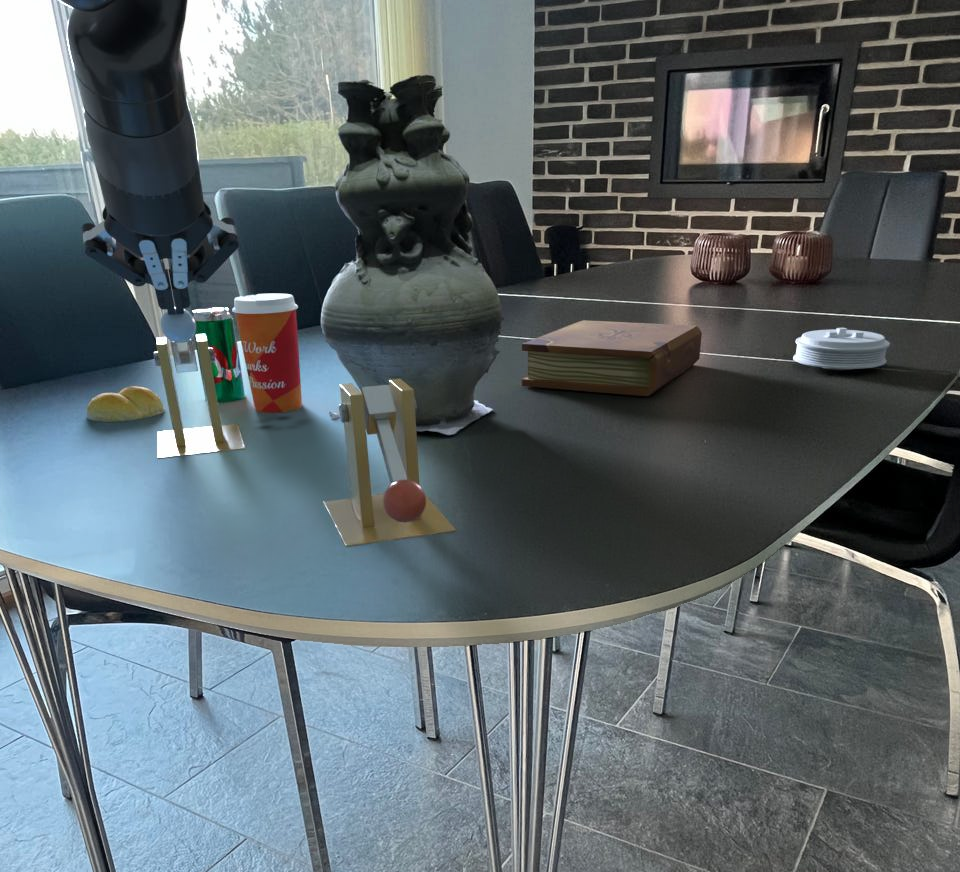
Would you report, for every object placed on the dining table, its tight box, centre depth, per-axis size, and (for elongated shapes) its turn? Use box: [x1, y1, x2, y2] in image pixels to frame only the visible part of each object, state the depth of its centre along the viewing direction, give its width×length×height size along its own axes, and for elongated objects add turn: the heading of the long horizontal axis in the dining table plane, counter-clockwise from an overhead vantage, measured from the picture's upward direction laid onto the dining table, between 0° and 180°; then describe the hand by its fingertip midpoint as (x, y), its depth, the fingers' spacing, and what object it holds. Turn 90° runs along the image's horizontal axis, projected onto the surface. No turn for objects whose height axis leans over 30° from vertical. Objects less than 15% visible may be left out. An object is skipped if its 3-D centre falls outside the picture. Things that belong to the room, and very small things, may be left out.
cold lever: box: [160, 308, 199, 374], centre depth 86 cm, size 12×3×3 cm, turn 18°
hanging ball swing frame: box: [153, 334, 246, 459], centre depth 93 cm, size 11×9×12 cm
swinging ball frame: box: [323, 379, 457, 548], centre depth 70 cm, size 11×9×12 cm
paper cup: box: [231, 292, 303, 414], centre depth 105 cm, size 8×8×14 cm
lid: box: [792, 327, 891, 371], centre depth 125 cm, size 13×13×5 cm
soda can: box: [192, 306, 246, 404], centre depth 110 cm, size 5×5×12 cm
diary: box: [521, 319, 703, 397], centre depth 123 cm, size 23×19×6 cm
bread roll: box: [86, 385, 166, 423], centre depth 106 cm, size 8×9×4 cm
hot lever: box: [360, 385, 426, 523], centre depth 67 cm, size 12×3×3 cm
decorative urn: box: [320, 74, 505, 436], centre depth 98 cm, size 21×21×35 cm
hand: (175, 306), depth 81 cm, fingers closed
